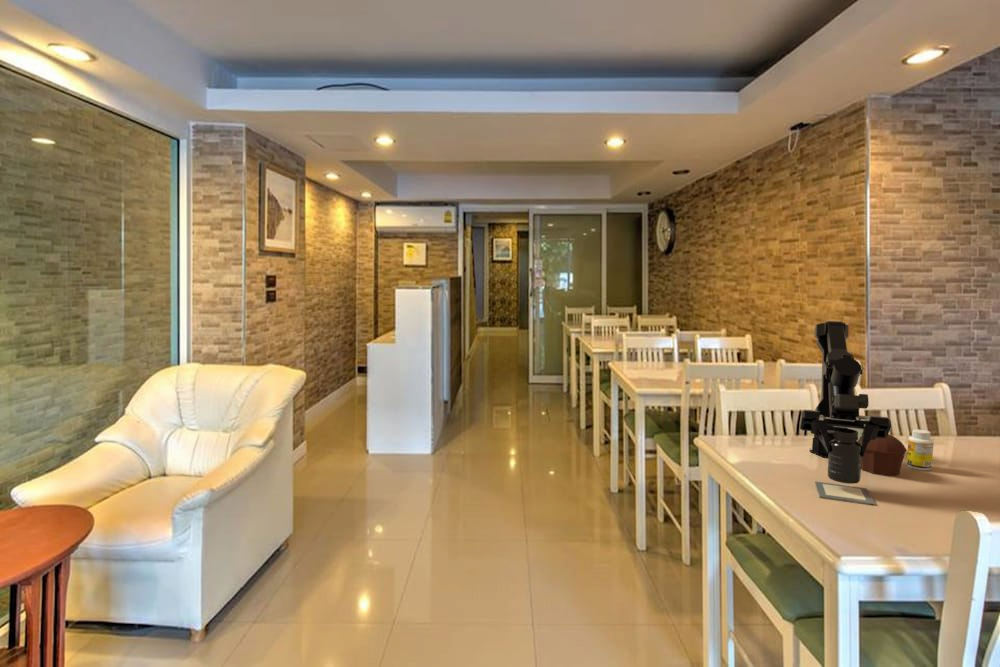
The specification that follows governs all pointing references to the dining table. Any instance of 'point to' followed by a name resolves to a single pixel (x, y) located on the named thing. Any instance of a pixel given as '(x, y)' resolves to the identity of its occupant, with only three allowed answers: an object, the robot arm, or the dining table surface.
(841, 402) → the robot arm
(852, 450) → the supplement bottle
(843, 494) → the foundation tile
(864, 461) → the muffin
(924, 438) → the supplement bottle
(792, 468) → the dining table surface
